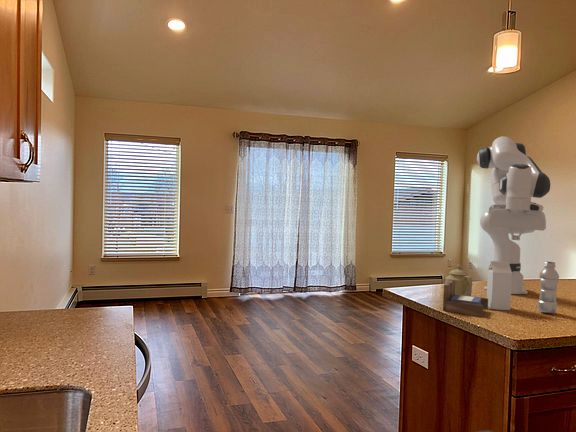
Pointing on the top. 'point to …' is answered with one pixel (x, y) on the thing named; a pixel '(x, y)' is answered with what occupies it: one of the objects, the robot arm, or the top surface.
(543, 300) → the plastic bottle
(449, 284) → the stand
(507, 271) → the milk carton
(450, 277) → the sugar bowl
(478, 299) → the navy carton
